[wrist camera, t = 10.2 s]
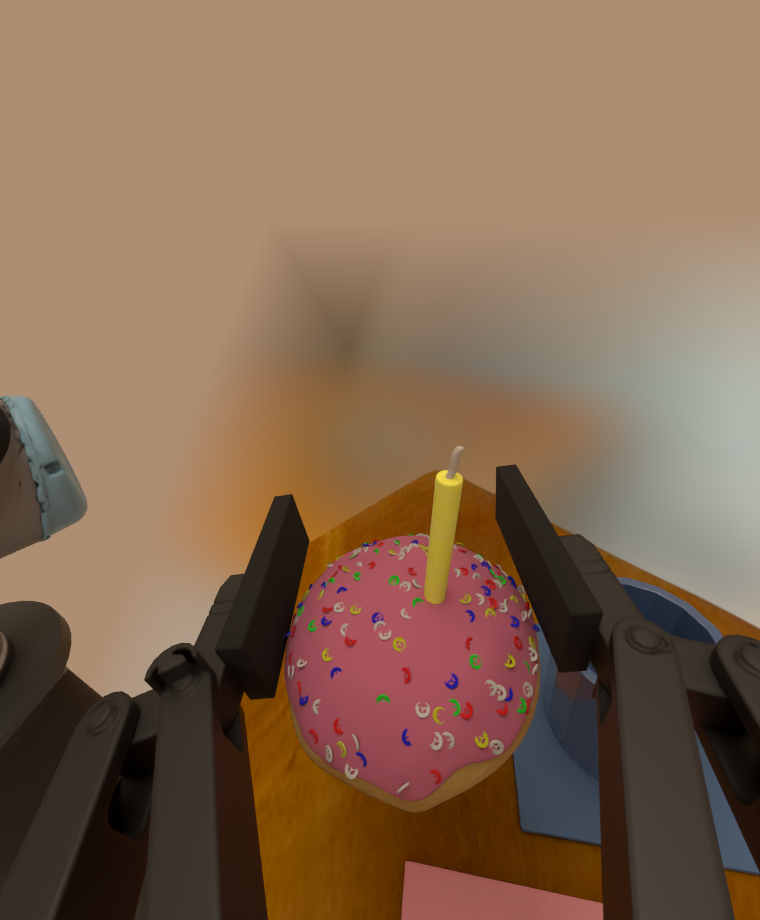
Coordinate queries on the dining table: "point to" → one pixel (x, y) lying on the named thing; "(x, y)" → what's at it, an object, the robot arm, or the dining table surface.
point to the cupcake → (413, 664)
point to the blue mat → (592, 790)
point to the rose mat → (484, 898)
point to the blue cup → (573, 690)
